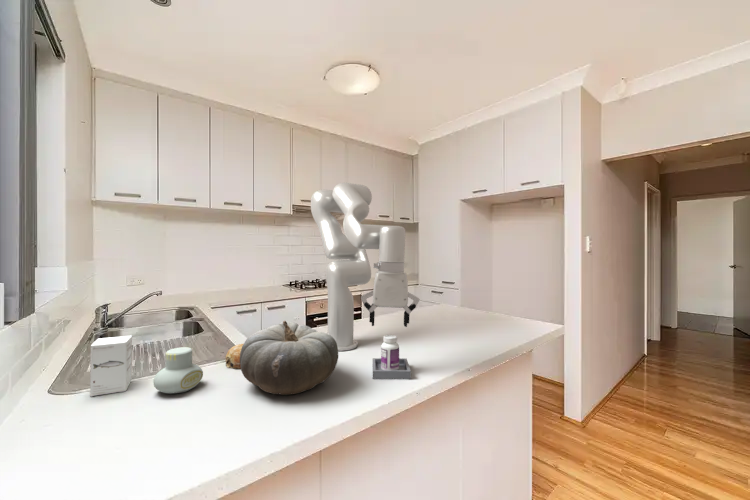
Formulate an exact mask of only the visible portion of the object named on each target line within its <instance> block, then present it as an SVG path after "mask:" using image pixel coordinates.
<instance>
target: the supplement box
mask: <svg viewBox="0 0 750 500" xmlns="http://www.w3.org/2000/svg"><path fill="white" fill-rule="evenodd" d="M132 343H133V335H123V336H112V337H110V336H109V337H102V338H101V337H100V338H97V339H96V340H95V341H93V342H92V344H91V345H90V369H89V370H90V374H89V376H90V378H89V379H90V381H89V382H90V383H89V389H90V390H89V396H90V397H94V396H100V395H108V394H115V393H120V392H126V391H127V390H128V388H129V385H130V384H131V381H132V358H133V357H132V349H133V348H132V345H133V344H132Z"/></svg>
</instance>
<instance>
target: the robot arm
mask: <svg viewBox="0 0 750 500" xmlns="http://www.w3.org/2000/svg"><path fill="white" fill-rule="evenodd" d="M372 199H373V195H372V191H371V190H370V188H369V187H368V186H366V185H363V184H357V183H351V182H340V183H337V184H336V185H335V186H334V187H333V189H319V190H316V191H314V192H313V193H312V195H311V198H310V211H311V215H312V218H313V220H314V223H315V224H316V227H317V229H318V232H319V235H320V236H319V237H320V241H321V246H322V248H323V252H324V256H325V257H326V258H327V259H329V260H333V261H330V262H329V263H328V264H327V265H326V267H325V271H324V272H325V273H324V275H325V276H324V277H325V281H326V288H327V289H326V290H327V332H326V333H327V334H329V335H331V336H332V337H333V338H334V339H335V341H336V343H337V347H338V352H344V351H351V350H354V349H356V348H357V347H358V341H357V340H355V339H354V331H355V330H354V326H355V325H354V315H355V314H354V310H355V306H354V303H355V302H354V301H355V300H354V295H353V293H352V291H351V290H350V288H349V287H351V286H362V285H366V284H368V283H369V282H370V281H371V278H372V267H371V265H370V260H369V258H368V254H367V251H366V250H378V262H375V263H373V269H377V271H376V272H375V274H374V281H373V288H372V289H373V290H371V291H369V292H367V293H365V294H362V295H361V296H360V300H361V303H362V304H363V306H364V308H366V309H367V310H368V312H369V323H371V327H374V326H375V317H376V315H375V310H376V308H393V309H395V308H398V309H401V308H403V310H404V312H403V326H404V327H405V328H407V327H408V324H410V314H411V313H412V312H413V311H414V310H415V309H416V308H417V306H418V304H419V302H420V298H419V297H418V296H416V295H414V294H412V293H411V292H409V285H408V274H407V273H406V272H405V254H406V228H404V226H401V225H400V226H399V225H381V224H368V223H367V224H364V223H363V224H362V223H361V222H363V221H364V220H365V219H366V218H367V217H368V216H369V213H370V205H371V203H372V201H373V200H372ZM332 213H338V214H339V213H341V214H344V216H343V222H342V225H343V227H341V226H342V225H341V224H340V222H339V221H338V219H337V218H336V217H335V216H334V215H333V214H332ZM342 228H343V230H342ZM343 232H344V233H343ZM369 298H372V303H371V304H370V303H369V302H368V301H367V299H369ZM409 299H411V300H412V303H411V304H410V305H409V306H408V303H409Z"/></svg>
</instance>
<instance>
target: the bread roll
mask: <svg viewBox="0 0 750 500" xmlns="http://www.w3.org/2000/svg"><path fill="white" fill-rule="evenodd" d="M243 344H244V343H239V344H236V345H234V346H232V347H230V348H229V349H228V350H227V353H226V355H225V366H226V368H227V369H235V370H237V369H238V370H241V364H240V352H241V349H242V346H243Z"/></svg>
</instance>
